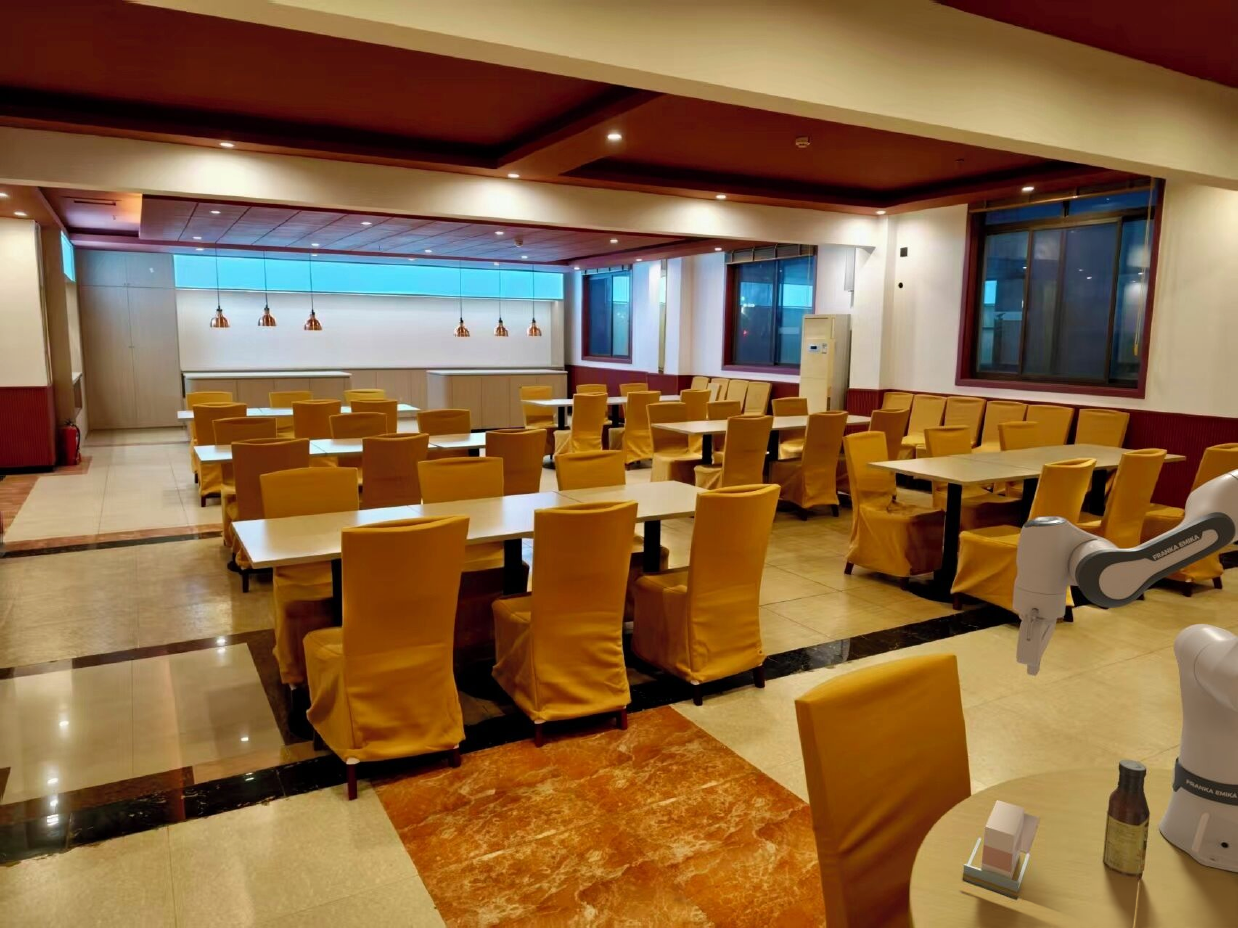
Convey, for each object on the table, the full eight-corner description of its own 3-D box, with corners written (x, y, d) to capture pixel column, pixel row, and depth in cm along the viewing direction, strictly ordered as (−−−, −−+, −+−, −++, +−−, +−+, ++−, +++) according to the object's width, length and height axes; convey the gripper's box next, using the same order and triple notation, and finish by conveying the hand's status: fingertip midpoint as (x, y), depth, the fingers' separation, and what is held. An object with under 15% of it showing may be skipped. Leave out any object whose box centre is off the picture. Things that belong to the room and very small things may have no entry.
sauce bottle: (1149, 886, 144) (1162, 777, 141) (1108, 881, 145) (1121, 773, 142) (1134, 863, 151) (1147, 758, 147) (1095, 858, 152) (1107, 754, 149)
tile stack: (1019, 860, 150) (1024, 808, 148) (1008, 890, 142) (1014, 835, 140) (992, 851, 152) (996, 799, 151) (980, 880, 144) (985, 826, 143)
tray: (1029, 861, 150) (1030, 846, 150) (1016, 900, 140) (1018, 883, 140) (978, 844, 155) (979, 829, 155) (962, 880, 145) (964, 864, 144)
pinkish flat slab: (1039, 825, 162) (1040, 818, 161) (1027, 861, 151) (1028, 853, 150) (999, 813, 166) (1000, 806, 165) (985, 847, 154) (986, 839, 154)
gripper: (1049, 620, 149) (1043, 695, 151) (1064, 592, 166) (1058, 659, 168) (1010, 613, 153) (1004, 687, 155) (1029, 586, 169) (1023, 653, 171)
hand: (1033, 672), depth 161 cm, fingers closed
